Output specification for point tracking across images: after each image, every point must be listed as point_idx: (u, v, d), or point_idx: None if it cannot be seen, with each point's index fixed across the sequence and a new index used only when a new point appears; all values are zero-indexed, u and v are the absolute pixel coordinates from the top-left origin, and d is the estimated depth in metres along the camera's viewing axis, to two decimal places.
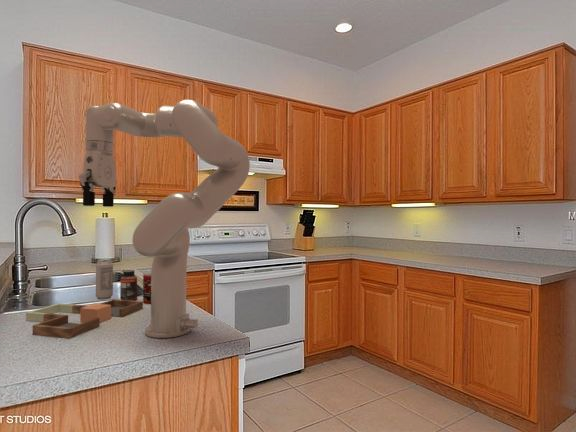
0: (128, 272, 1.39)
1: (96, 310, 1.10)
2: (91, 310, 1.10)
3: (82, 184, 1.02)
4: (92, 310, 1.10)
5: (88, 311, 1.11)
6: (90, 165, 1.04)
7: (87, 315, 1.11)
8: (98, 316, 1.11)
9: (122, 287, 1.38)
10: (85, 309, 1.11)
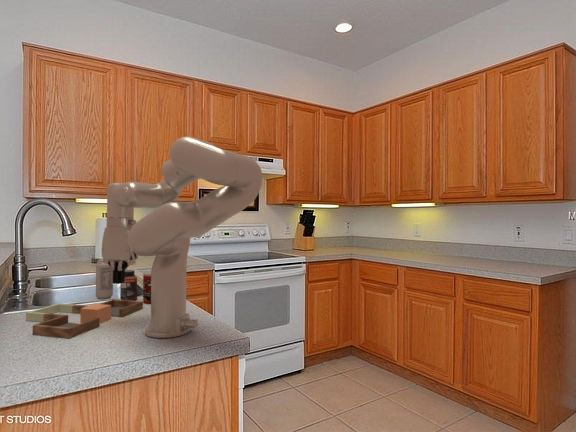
0: (128, 272, 1.39)
1: (96, 310, 1.10)
2: (91, 310, 1.10)
3: (126, 265, 1.11)
4: (92, 310, 1.10)
5: (88, 311, 1.10)
6: None
7: (87, 315, 1.11)
8: (98, 316, 1.10)
9: (122, 287, 1.38)
10: (85, 309, 1.11)
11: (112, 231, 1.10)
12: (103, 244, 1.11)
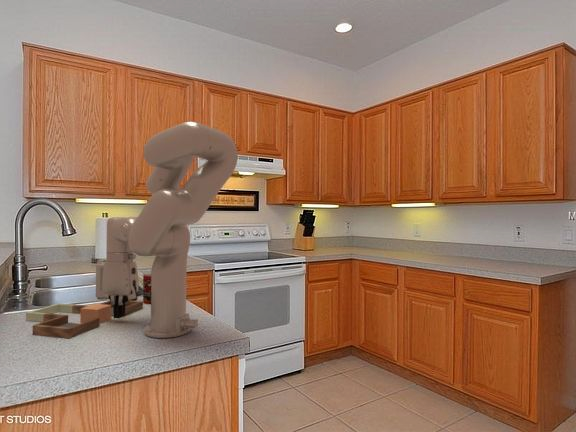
0: None
1: (96, 310, 1.10)
2: (91, 310, 1.10)
3: (127, 299, 1.11)
4: (92, 310, 1.10)
5: (88, 311, 1.10)
6: (134, 276, 1.11)
7: (87, 315, 1.10)
8: (98, 316, 1.10)
9: None
10: (85, 309, 1.11)
11: (112, 266, 1.10)
12: (103, 279, 1.11)
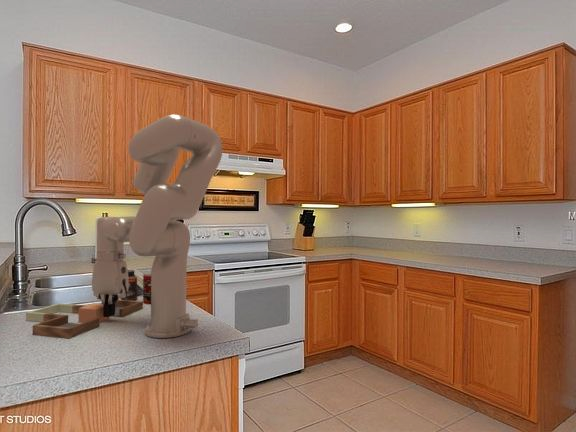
0: (128, 272, 1.39)
1: (95, 310, 1.10)
2: (89, 310, 1.10)
3: (117, 298, 1.12)
4: (90, 310, 1.10)
5: (86, 311, 1.11)
6: (124, 275, 1.12)
7: (85, 315, 1.11)
8: (97, 316, 1.11)
9: None
10: (83, 309, 1.11)
11: (102, 265, 1.10)
12: (93, 278, 1.11)
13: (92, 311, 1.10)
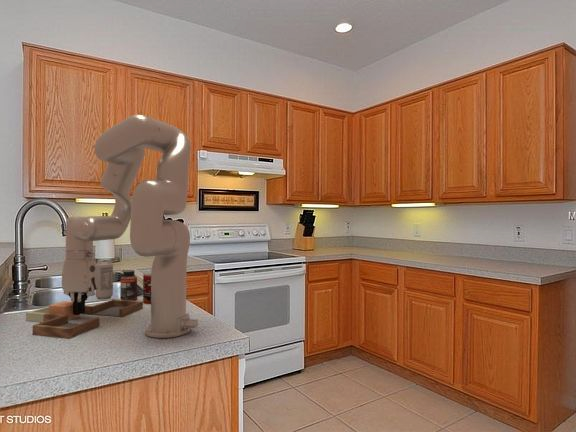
0: (128, 272, 1.39)
1: (63, 307, 1.12)
2: (59, 307, 1.13)
3: (86, 296, 1.14)
4: (60, 307, 1.13)
5: (56, 308, 1.13)
6: (93, 273, 1.14)
7: (55, 312, 1.13)
8: (66, 313, 1.13)
9: (122, 287, 1.38)
10: (53, 306, 1.13)
11: (71, 264, 1.13)
12: (63, 276, 1.14)
13: (61, 308, 1.13)
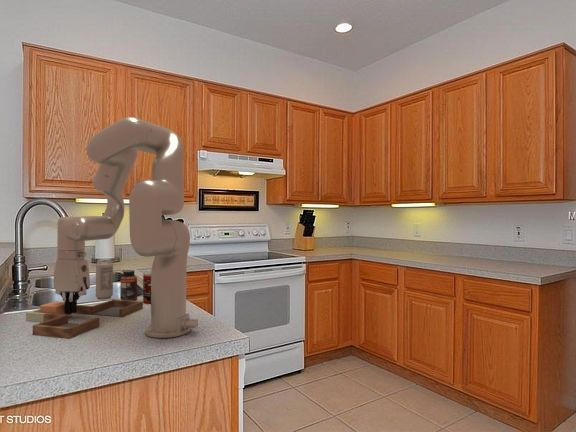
0: (128, 272, 1.39)
1: (55, 307, 1.13)
2: (50, 307, 1.13)
3: (78, 296, 1.15)
4: (51, 307, 1.13)
5: (47, 308, 1.14)
6: (85, 273, 1.15)
7: (46, 312, 1.14)
8: (57, 313, 1.14)
9: (122, 287, 1.38)
10: (44, 306, 1.14)
11: (62, 264, 1.13)
12: (54, 276, 1.15)
13: (53, 308, 1.13)
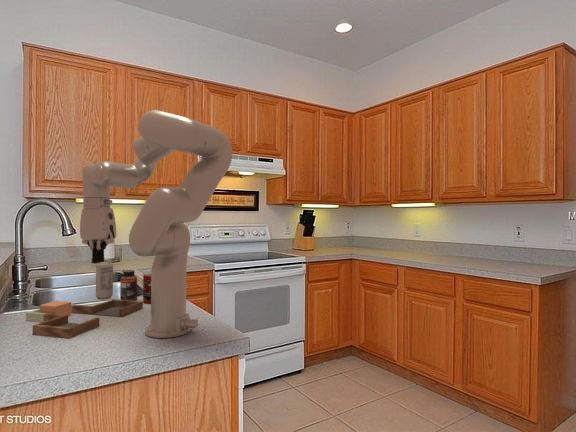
0: (128, 272, 1.39)
1: (54, 307, 1.13)
2: (50, 307, 1.13)
3: (105, 244, 1.14)
4: (50, 307, 1.13)
5: (47, 308, 1.14)
6: (111, 221, 1.14)
7: (46, 312, 1.14)
8: (56, 313, 1.14)
9: (122, 287, 1.38)
10: (44, 306, 1.14)
11: (89, 212, 1.13)
12: (81, 225, 1.14)
13: (52, 308, 1.13)
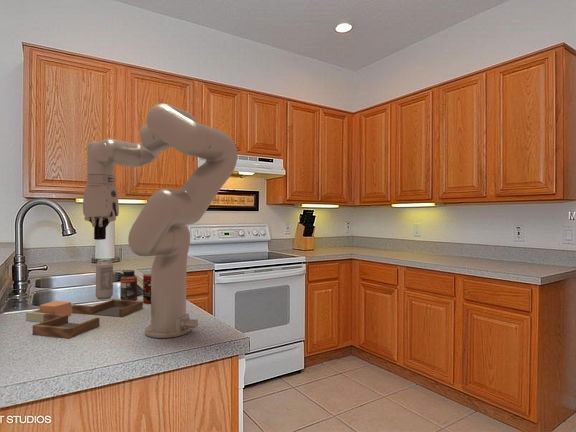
0: (128, 272, 1.39)
1: (54, 307, 1.13)
2: (49, 307, 1.13)
3: (107, 222, 1.15)
4: (50, 307, 1.13)
5: (47, 308, 1.14)
6: (114, 199, 1.15)
7: (46, 312, 1.14)
8: (56, 313, 1.13)
9: (122, 287, 1.38)
10: (44, 306, 1.14)
11: (92, 189, 1.13)
12: (84, 201, 1.14)
13: (52, 308, 1.13)
